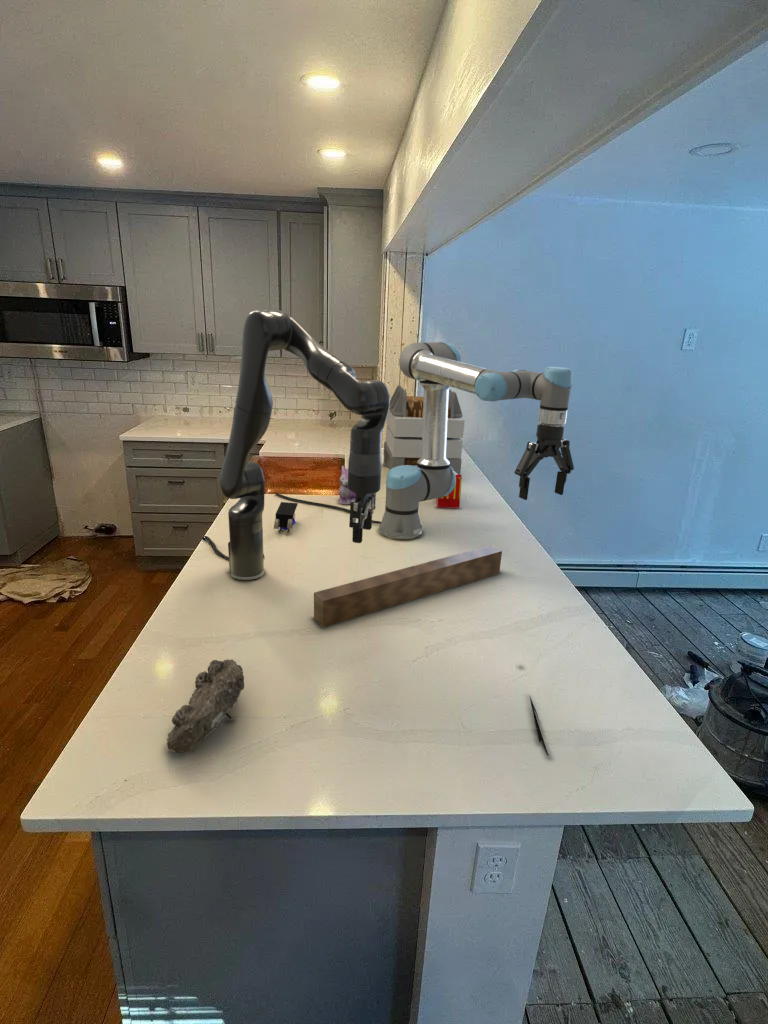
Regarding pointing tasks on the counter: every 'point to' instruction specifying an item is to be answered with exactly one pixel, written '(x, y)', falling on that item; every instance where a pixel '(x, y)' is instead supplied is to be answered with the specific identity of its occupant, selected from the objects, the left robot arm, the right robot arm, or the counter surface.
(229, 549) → the left robot arm
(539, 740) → the feather
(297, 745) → the counter surface
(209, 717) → the fossil
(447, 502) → the toy
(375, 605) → the bar
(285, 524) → the figurine character
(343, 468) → the figurine
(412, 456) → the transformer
